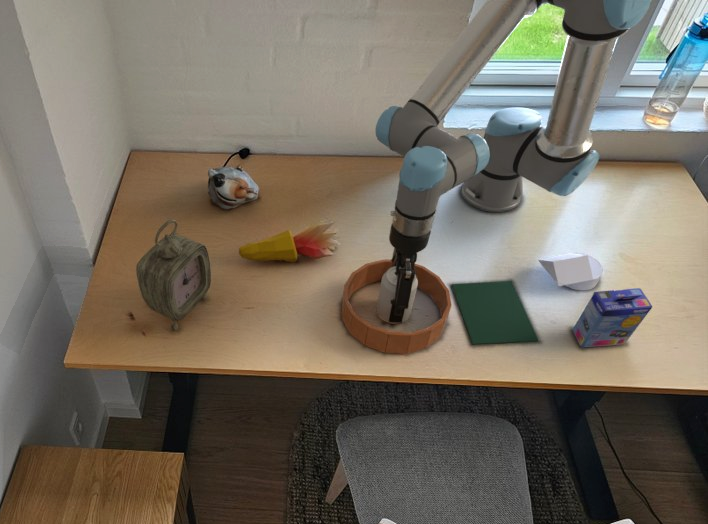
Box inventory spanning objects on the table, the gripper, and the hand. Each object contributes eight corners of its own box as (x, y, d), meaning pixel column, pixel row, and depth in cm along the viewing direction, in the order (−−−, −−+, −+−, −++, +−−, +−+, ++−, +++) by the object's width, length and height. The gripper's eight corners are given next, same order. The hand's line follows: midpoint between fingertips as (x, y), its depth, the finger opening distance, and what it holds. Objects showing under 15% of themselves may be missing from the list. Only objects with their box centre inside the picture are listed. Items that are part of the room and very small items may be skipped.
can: (412, 305, 135) (422, 266, 126) (406, 329, 131) (416, 291, 122) (379, 298, 137) (386, 259, 128) (372, 322, 132) (379, 283, 123)
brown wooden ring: (342, 276, 142) (344, 257, 137) (439, 280, 140) (444, 261, 136) (341, 350, 128) (344, 332, 123) (450, 356, 126) (456, 337, 121)
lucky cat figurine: (267, 189, 164) (270, 165, 151) (246, 225, 162) (247, 204, 149) (220, 164, 165) (218, 138, 152) (198, 200, 163) (195, 176, 149)
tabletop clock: (176, 338, 131) (158, 252, 112) (144, 323, 134) (121, 237, 115) (214, 297, 139) (203, 210, 120) (183, 283, 142) (167, 196, 123)
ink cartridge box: (581, 349, 126) (610, 302, 115) (570, 329, 129) (597, 281, 118) (627, 345, 126) (660, 298, 115) (614, 326, 130) (646, 277, 119)
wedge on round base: (553, 296, 136) (605, 286, 137) (564, 275, 131) (617, 264, 132) (532, 270, 141) (583, 260, 143) (542, 248, 136) (594, 238, 138)
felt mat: (451, 285, 139) (451, 284, 139) (511, 282, 139) (511, 280, 139) (472, 345, 127) (472, 343, 127) (538, 341, 128) (538, 340, 127)
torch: (243, 270, 150) (341, 247, 149) (244, 278, 142) (347, 255, 142) (236, 238, 147) (335, 215, 146) (237, 245, 139) (342, 221, 139)
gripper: (389, 193, 122) (375, 274, 139) (394, 261, 109) (378, 341, 126) (426, 194, 121) (408, 276, 138) (436, 263, 108) (414, 343, 125)
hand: (394, 307), depth 132 cm, fingers closed on can, 7 cm apart
